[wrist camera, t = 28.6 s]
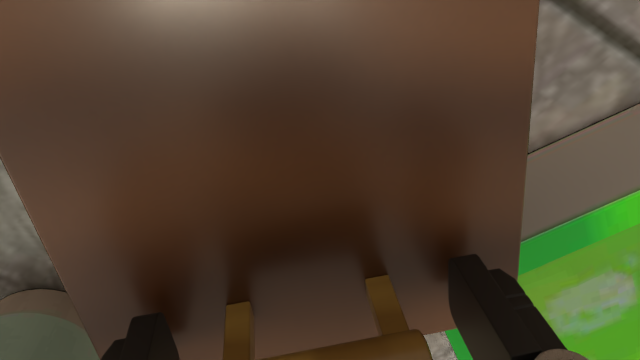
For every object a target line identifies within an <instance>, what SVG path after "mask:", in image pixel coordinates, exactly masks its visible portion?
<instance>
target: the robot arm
mask: <svg viewBox="0 0 640 360" xmlns="http://www.w3.org/2000/svg"><path fill="white" fill-rule="evenodd" d="M448 298H449V307H450V311H451V315H452V318H453V320H454V323H455V325H456V327H457V329H458V331H459V333H460V335H461V337H462V339H463V341H464V343H465V344H466V346H467V348H468V350H469V352H470V354H471V356H472V358H473V360H588V359H587V358H586V357H584V356H582V355H580V354H578V353H576V352H573V351H570V350H567V348H566V347H565V346H564V344H563V343H562V342H561V340H560V339H559V338H558V336H557V335H556V334H555V332H554V331H553V330H552V328H551V327H550V325H549V324H548V323H547V321H546V320H545V319H544V317H543V316H542V315H541V313H540V312H539V311H538V309H537V308H536V307H534V304H533V302H532V301H531V300H530V298H529V297H528V296H527V295H526V294H525V291H524V290H523V289H522V287H521V286H520V285H519V283H518V282H517V281H516V279H515V278H513V277H512V276H510V275H509V274H507V273H506V272H504V271H503V270H501V269H500V268H498V269H492V270H488V269H487V267H486V266H485V265H484V263H483V262H482V260H481V259H480V257H479V256H478V255H477V254H471V255H465V256H460V257H455V258H450V259H449V261H448ZM101 360H180V358H179V353H178V350H177V347H176V345H175V342H174V339H173V337H172V334H171V331H170V329H169V326H168V324H167V321H166V318H165V316H164V314H163V313H162V312H157V313H152V314H147V315H141V316H136V317H133V318H132V319H131V322H130V325H129V329H128V332H127V335H126V338H124V339H118V340H115V341H114V342H113V343H112V345H111V346H110V347H109V348H108V350H107V351H106V352H105V354H104V355H103V356H102V358H101Z"/></svg>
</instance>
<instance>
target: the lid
mask: <svg viewBox="0 0 640 360" xmlns="http://www.w3.org/2000/svg"><path fill="white" fill-rule="evenodd" d="M538 12H539V0H0V158H1V160H2V162H3V164H4V166H5V168H6V170H7V172H8V174H9V176H10V179H11V181H12V183H13V185H14V187H15V189H16V191H17V193H18V195H19V197H20V199H21V201H22V203H23V205H24V207H25V209H26V211H27V213H28V215H29V217H30V219H31V221H32V223H33V225H34V227H35V229H36V231H37V233H38V235H39V237H40V239H41V241H42V243H43V245H44V247H45V249H46V251H47V253H48V255H49V257H50V259H51V261H52V263H53V265H54V267H55V269H56V272H57V274H58V276H59V278H60V280H61V282H62V284H63V286H64V288H65V290H66V292H67V294H68V296H69V298H70V300H71V302H72V304H73V306H74V308H75V310H76V312H77V314H78V316H79V318H80V320H81V322H82V324H83V326H84V328H85V330H86V332H87V334H88V336H89V338H90V340H91V342H92V344H93V346H94V348H95V350H96V352H97V354H98V356H99V358H100V360H101V358H102V356H103V355H104V354H105V352H106V351H107V350H108V348H109V347H110V346H111V345H112V343H113V342H114V341H115V340H118V339H124V338H126V335H127V332H128V329H129V325H130V322H131V319H132V318H133V317H136V316H141V315H147V314H152V313H157V312H162V313H163V314H164V316H165V318H166V321H167V324H168V326H169V329H170V331H171V334H172V337H173V339H174V342H175V345H176V347H177V350H178V353H179V358H180V360H433V359H432V356H431V353H430V350H429V347H428V344H427V342H426V340H425V338H424V336H423V335H427V334H432V333H437V332H442V331H447V330H453V329H457V327H456V325H455V323H454V320H453V318H452V315H451V311H450V307H449V298H448V261H449V259H450V258H455V257H460V256H465V255H471V254H477V255H478V256H479V257H480V259H481V260H482V262H483V263H484V265H485V266H486V267H487V269H488V270H492V269H498V268H500V269H501V270H503V271H504V272H506V273H507V274H509V275H510V276H512V277H513V278H515V279H516V281H517V282H518V272H519V259H520V246H521V233H522V220H523V207H524V194H525V181H526V168H527V155H528V142H529V129H530V116H531V103H532V90H533V77H534V64H535V51H536V38H537V25H538Z"/></svg>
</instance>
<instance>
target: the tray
mask: <svg viewBox="0 0 640 360" xmlns="http://www.w3.org/2000/svg"><path fill="white" fill-rule="evenodd" d="M518 283H519V285H520V286H521V287H522V289H523V290H524V291H525V294H526V295H527V296H528V297H529V298H530V300H531V301H532V302H533V304H534V307H536V308H537V309H538V311H539V312H540V313H541V315H542V316H543V317H544V319H545V320H546V321H547V323H548V324H549V325H550V327H551V328H552V330H553V331H554V332H555V334H556V335H557V336H558V338H559V339H560V340H561V342H562V343H563V344H564V346H565V347H566V348H567V350H570V351H573V352H576V353H578V354H580V355H582V356H584V357H586V358H587V359H588V360H640V104H638V105H636V106H633V107H631V108H629V109H627V110H625V111H623V112H620V113H618V114H616V115H614V116H612V117H609V118H607V119H605V120H603V121H601V122H598V123H596V124H594V125H592V126H590V127H587V128H585V129H583V130H581V131H579V132H577V133H574V134H572V135H570V136H568V137H566V138H563V139H561V140H559V141H557V142H555V143H552V144H550V145H548V146H546V147H544V148H541V149H539V150H537V151H535V152H533V153H530V154H528V155H527V168H526V181H525V194H524V207H523V220H522V233H521V246H520V259H519V272H518ZM445 333H446V335H447V337H448V339H449V341H450V343H451V346H452V348H453V350H454V352H455V354H456V356H457V358H458V360H473V358H472V356H471V354H470V352H469V350H468V348H467V346H466V344H465V343H464V341H463V339H462V337H461V335H460V333H459V331H458V329H453V330H447V331H445Z"/></svg>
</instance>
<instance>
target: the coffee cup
mask: <svg viewBox="0 0 640 360" xmlns="http://www.w3.org/2000/svg"><path fill="white" fill-rule="evenodd" d="M0 360H100V358H99V356H98V354H97V352H96V350H95V348H94V346H93V344H92V342H91V340H90V338H89V336H88V334H87V332H86V330H85V328H84V326H83V324H82V322H81V320H80V318H79V316H78V314H77V312H76V310H75V308H74V306H73V304H72V302H71V300H70V298H69V296H68V294H67V293H66V292H62V291H56V290H48V289H35V290H26V291H21V292H17V293H15V294H12V295H9V296H7V297H5V298H4V299H2V300H0Z"/></svg>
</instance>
